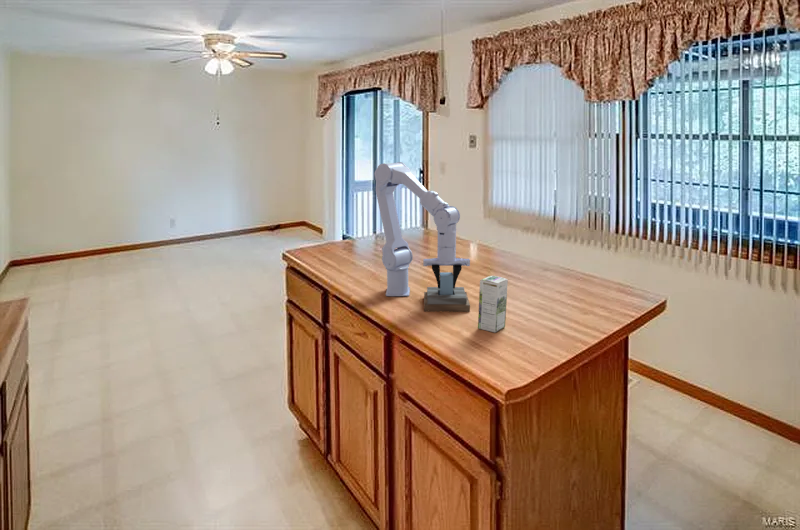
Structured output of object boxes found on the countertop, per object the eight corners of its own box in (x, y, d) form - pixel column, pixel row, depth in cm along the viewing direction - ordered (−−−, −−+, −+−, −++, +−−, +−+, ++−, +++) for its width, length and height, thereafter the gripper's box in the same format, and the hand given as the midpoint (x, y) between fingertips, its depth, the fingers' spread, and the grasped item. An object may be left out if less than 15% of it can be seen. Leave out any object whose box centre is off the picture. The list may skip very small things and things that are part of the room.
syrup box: (487, 323, 156) (489, 274, 152) (506, 327, 152) (508, 278, 148) (477, 328, 151) (478, 279, 148) (496, 333, 148) (498, 282, 144)
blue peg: (439, 293, 174) (439, 272, 172) (452, 293, 173) (452, 272, 172) (440, 297, 170) (440, 275, 168) (452, 297, 169) (453, 275, 168)
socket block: (424, 297, 179) (424, 286, 178) (466, 297, 179) (466, 286, 178) (424, 311, 166) (424, 299, 165) (469, 311, 165) (470, 299, 164)
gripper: (423, 248, 164) (423, 291, 167) (471, 248, 163) (470, 291, 167) (423, 243, 171) (423, 284, 174) (469, 243, 170) (468, 284, 174)
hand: (446, 287), depth 171 cm, fingers closed on blue peg, 4 cm apart
